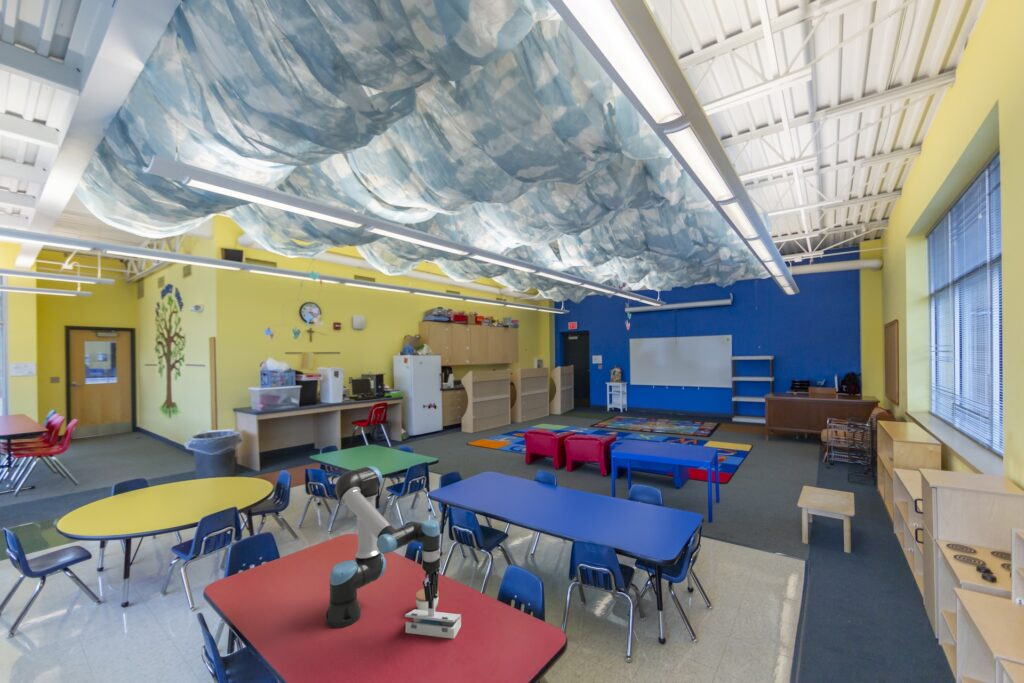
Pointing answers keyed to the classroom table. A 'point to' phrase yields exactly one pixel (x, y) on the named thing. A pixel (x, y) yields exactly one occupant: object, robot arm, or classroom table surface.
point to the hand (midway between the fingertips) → (431, 614)
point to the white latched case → (434, 628)
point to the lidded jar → (421, 601)
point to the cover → (438, 616)
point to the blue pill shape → (429, 622)
